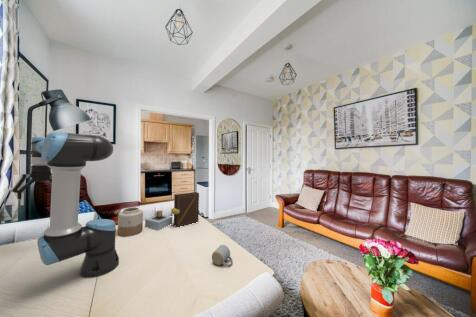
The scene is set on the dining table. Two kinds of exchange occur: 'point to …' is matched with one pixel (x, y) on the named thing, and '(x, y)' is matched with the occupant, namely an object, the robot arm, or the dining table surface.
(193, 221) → the book
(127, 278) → the dining table surface
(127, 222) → the vase
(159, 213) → the dowel
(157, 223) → the socket block
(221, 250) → the ceramic mug
